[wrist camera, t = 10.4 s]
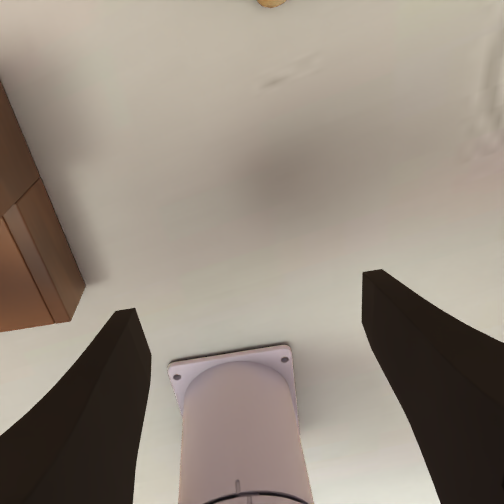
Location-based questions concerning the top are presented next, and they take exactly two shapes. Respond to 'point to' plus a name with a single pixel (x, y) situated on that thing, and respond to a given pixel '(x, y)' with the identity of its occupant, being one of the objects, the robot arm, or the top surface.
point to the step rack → (30, 240)
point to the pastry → (271, 3)
